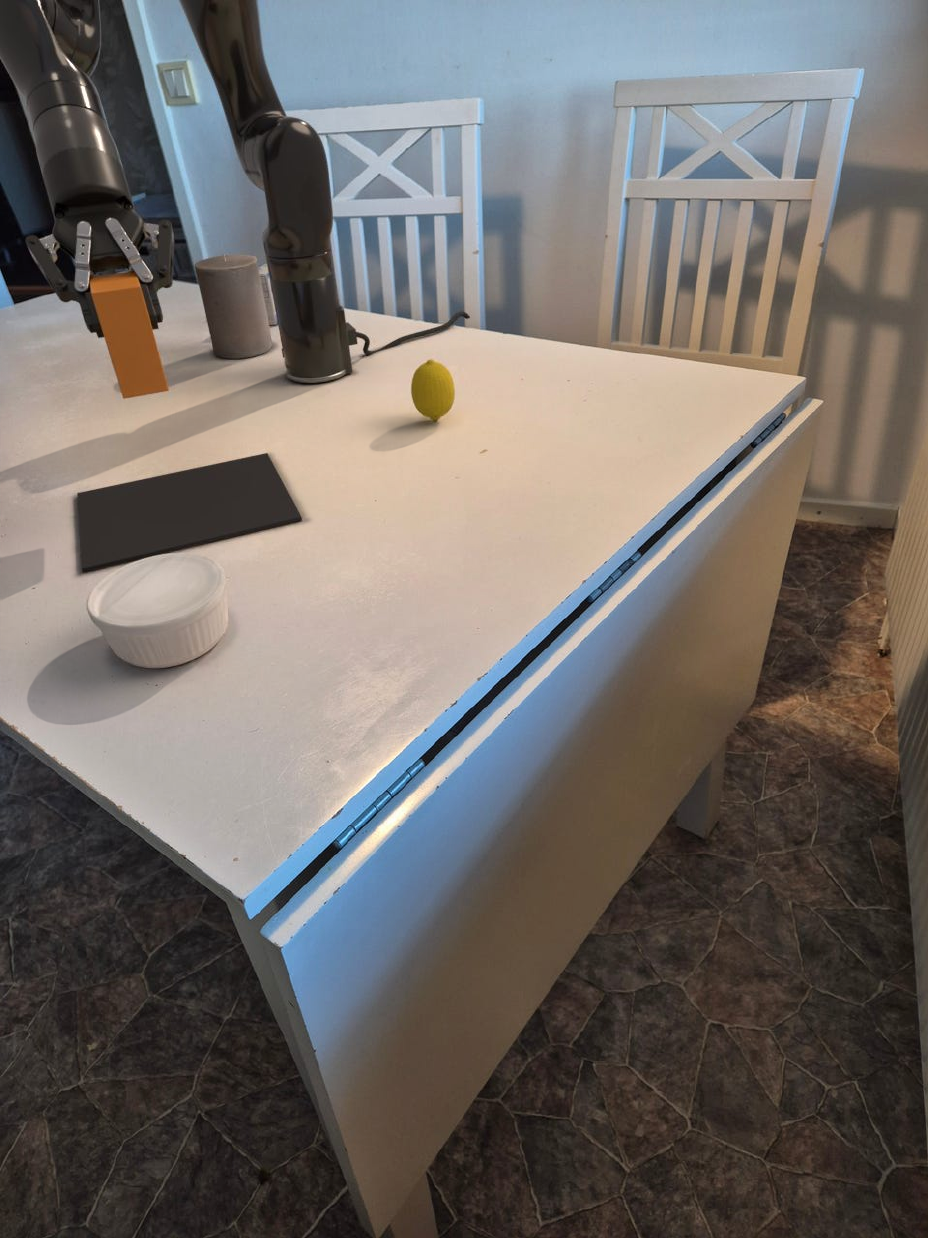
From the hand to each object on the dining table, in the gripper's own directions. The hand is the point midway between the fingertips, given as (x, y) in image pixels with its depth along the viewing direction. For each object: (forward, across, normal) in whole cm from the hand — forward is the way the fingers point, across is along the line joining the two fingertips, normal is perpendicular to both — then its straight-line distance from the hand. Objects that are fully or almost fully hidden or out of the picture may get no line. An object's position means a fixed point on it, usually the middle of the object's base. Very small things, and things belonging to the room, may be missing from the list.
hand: (127, 328), depth 78 cm
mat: (+14, +1, +14) cm, 20 cm away
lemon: (+8, +34, +20) cm, 40 cm away
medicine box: (-34, +24, +62) cm, 75 cm away
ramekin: (+31, -3, -3) cm, 32 cm away
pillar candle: (-23, +16, +51) cm, 59 cm away
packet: (+3, 0, +6) cm, 6 cm away
